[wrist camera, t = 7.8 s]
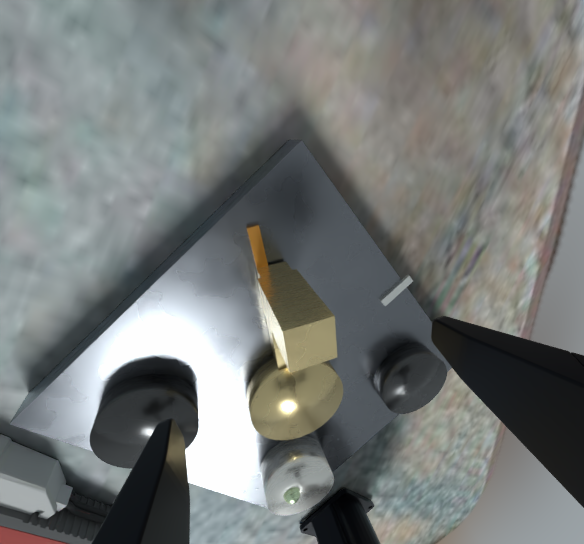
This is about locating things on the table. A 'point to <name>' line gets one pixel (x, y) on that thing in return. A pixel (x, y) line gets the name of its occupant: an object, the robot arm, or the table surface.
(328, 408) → the brass knob
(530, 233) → the table surface
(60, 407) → the instrument base
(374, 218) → the table surface
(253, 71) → the table surface
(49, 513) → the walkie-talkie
